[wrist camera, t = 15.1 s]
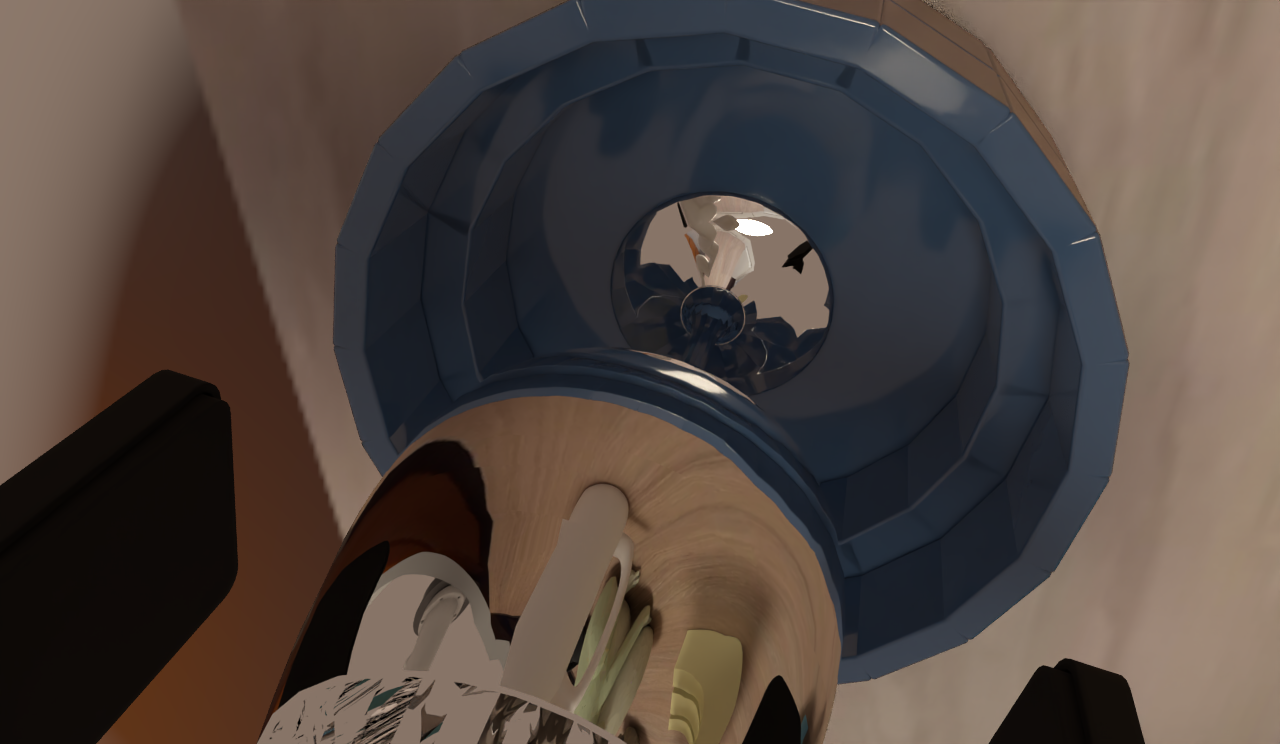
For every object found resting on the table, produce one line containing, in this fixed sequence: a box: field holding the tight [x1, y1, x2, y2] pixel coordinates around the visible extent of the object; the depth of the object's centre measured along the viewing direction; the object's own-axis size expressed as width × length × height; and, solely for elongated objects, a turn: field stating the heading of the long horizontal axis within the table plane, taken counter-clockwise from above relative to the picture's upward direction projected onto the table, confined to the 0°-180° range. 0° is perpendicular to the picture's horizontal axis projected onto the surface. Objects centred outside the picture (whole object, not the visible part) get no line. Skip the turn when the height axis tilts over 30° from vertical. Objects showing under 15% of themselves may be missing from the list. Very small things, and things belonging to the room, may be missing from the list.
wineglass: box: [257, 190, 846, 744], centre depth 13 cm, size 6×6×12 cm
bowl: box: [333, 0, 1130, 684], centre depth 17 cm, size 12×12×5 cm
